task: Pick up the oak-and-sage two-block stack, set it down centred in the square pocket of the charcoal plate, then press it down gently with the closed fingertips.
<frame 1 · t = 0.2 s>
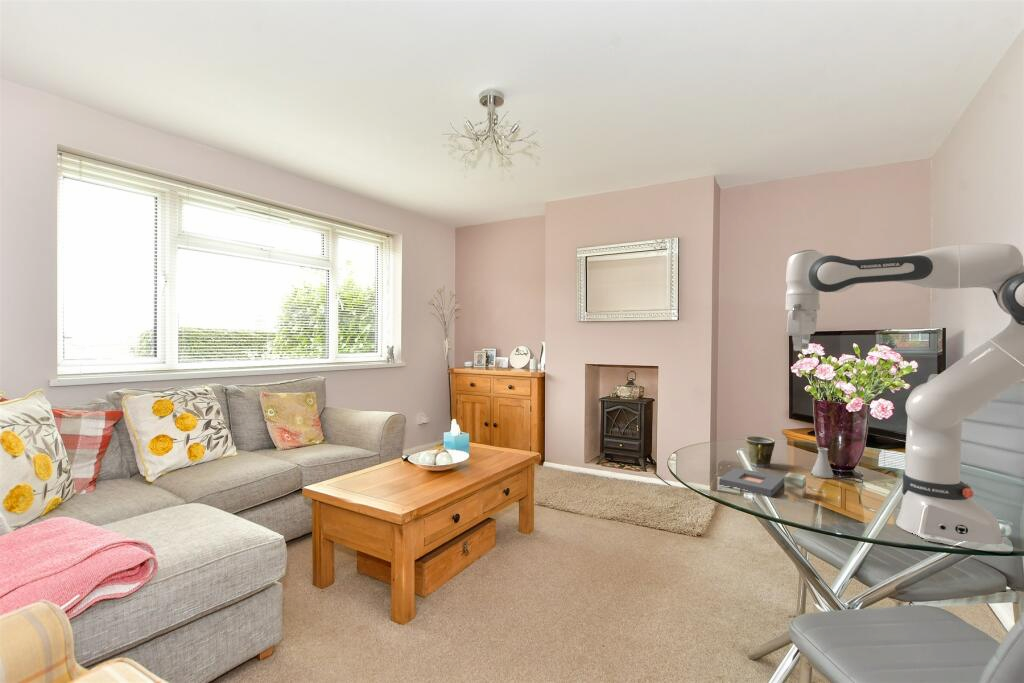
hand: (801, 349, 146), 47 cm above the table, tool pointing down, fingers open, 8 cm apart
ceramic cup: (760, 466, 183), on the table
pocket plate: (751, 484, 163), on the table
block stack: (795, 494, 154), on the table
flask: (822, 476, 171), on the table
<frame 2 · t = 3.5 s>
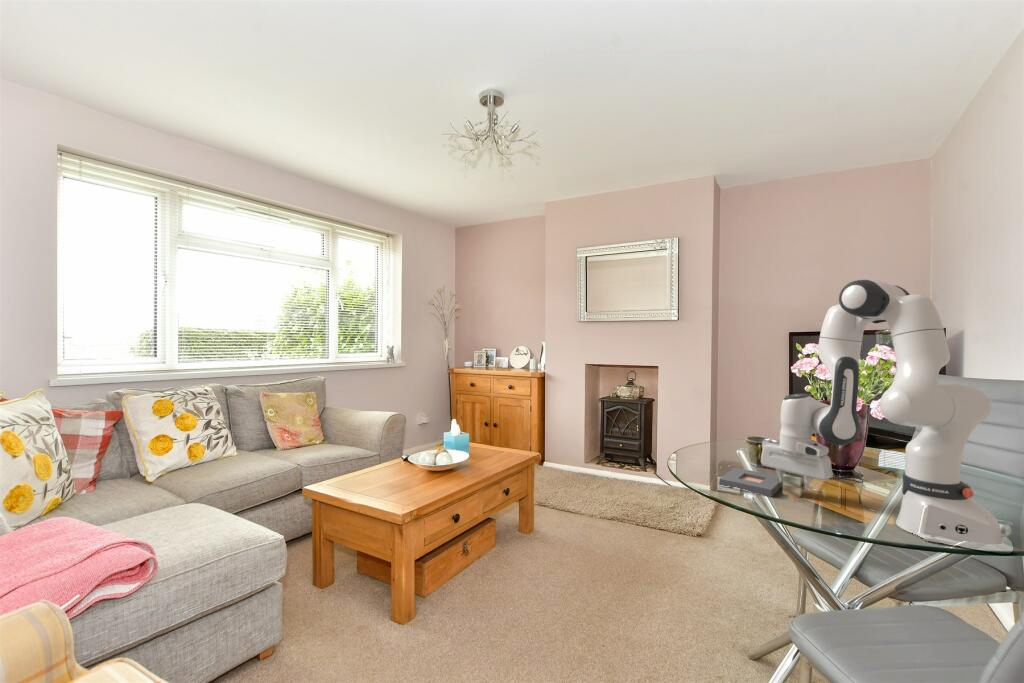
hand: (793, 486, 155), 2 cm above the table, tool pointing down, fingers closed on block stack, 5 cm apart
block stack: (793, 493, 155), on the table, touching gripper
everything else where it was.
when the fingers open (5 cm above the table, at t = 9.1 s): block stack drops 2 cm, resting on pocket plate.
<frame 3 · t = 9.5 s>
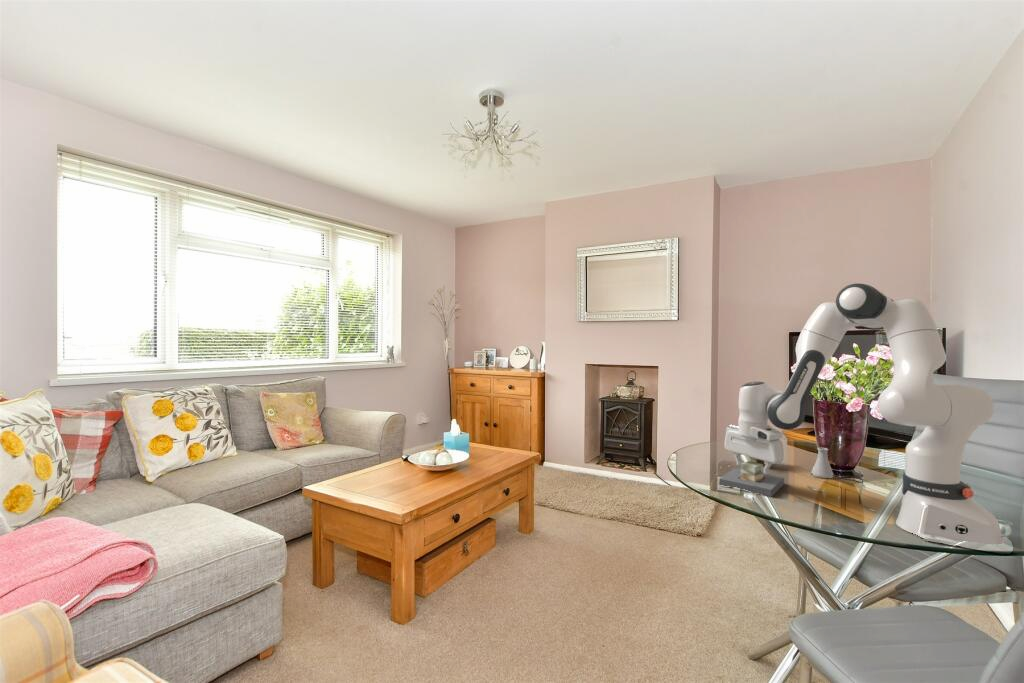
hand: (752, 469, 163), 5 cm above the table, tool pointing down, fingers open, 8 cm apart
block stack: (751, 481, 163), point 1 cm above the table, touching pocket plate
everything else where it was.
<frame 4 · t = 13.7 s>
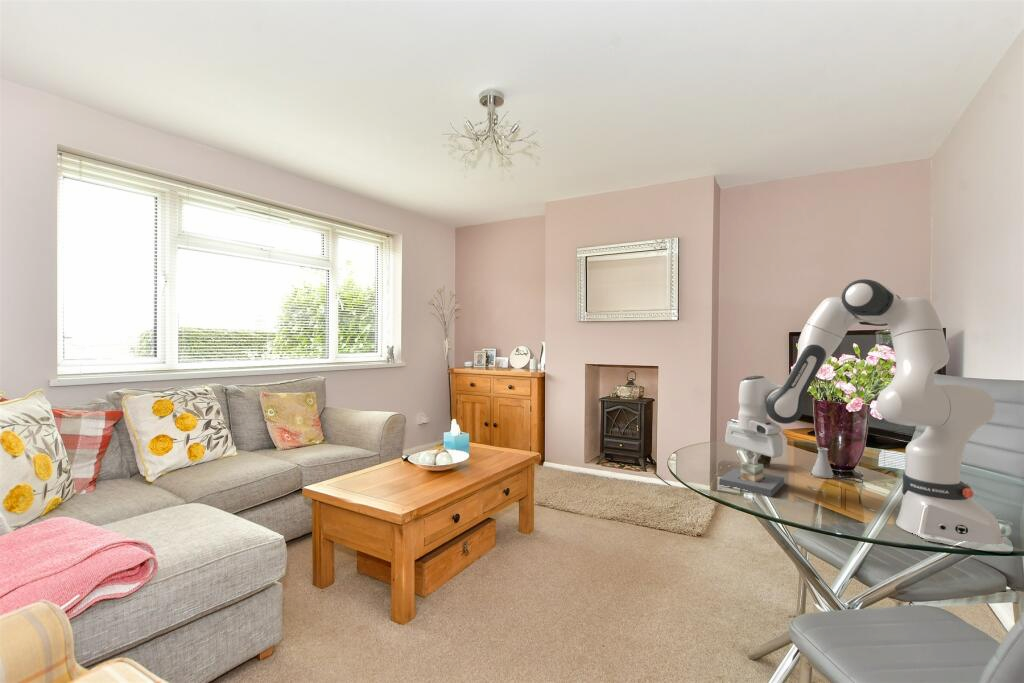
hand: (752, 463, 163), 7 cm above the table, tool pointing down, fingers closed, pressing on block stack
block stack: (751, 481, 163), point 1 cm above the table, touching gripper, pocket plate
everything else where it was.
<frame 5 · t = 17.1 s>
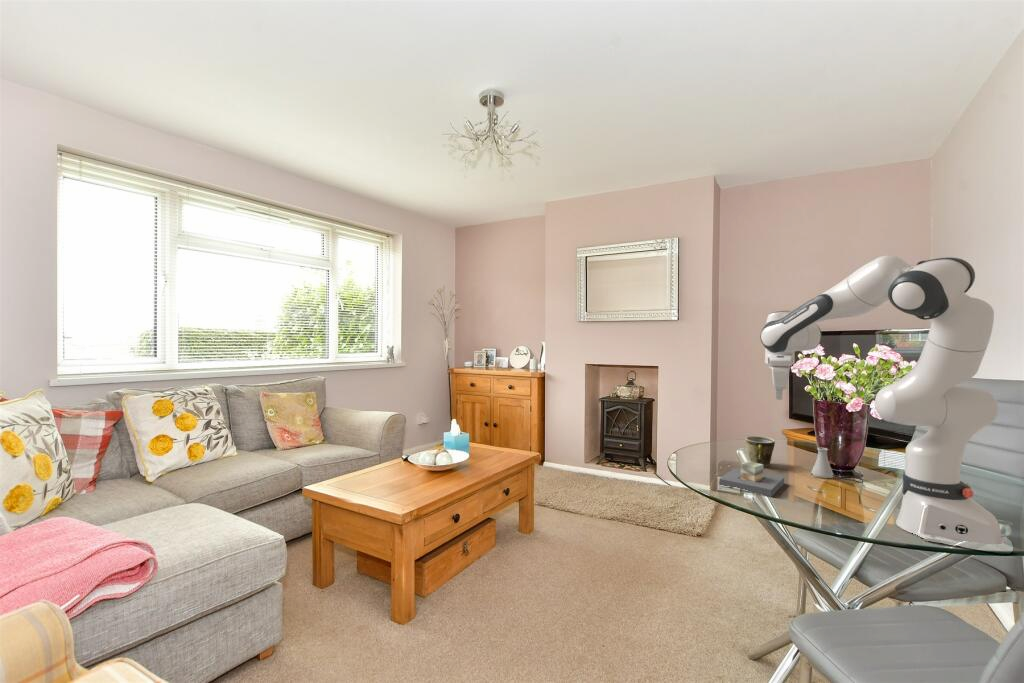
hand: (778, 399, 164), 29 cm above the table, tool pointing down, fingers closed
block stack: (751, 481, 163), point 1 cm above the table, touching pocket plate
everything else where it was.
at the end: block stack 0.2 cm off-centre on the pocket plate, point 1.3 cm above the pocket plate's base; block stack tilted 0°; the gripper is holding nothing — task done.
